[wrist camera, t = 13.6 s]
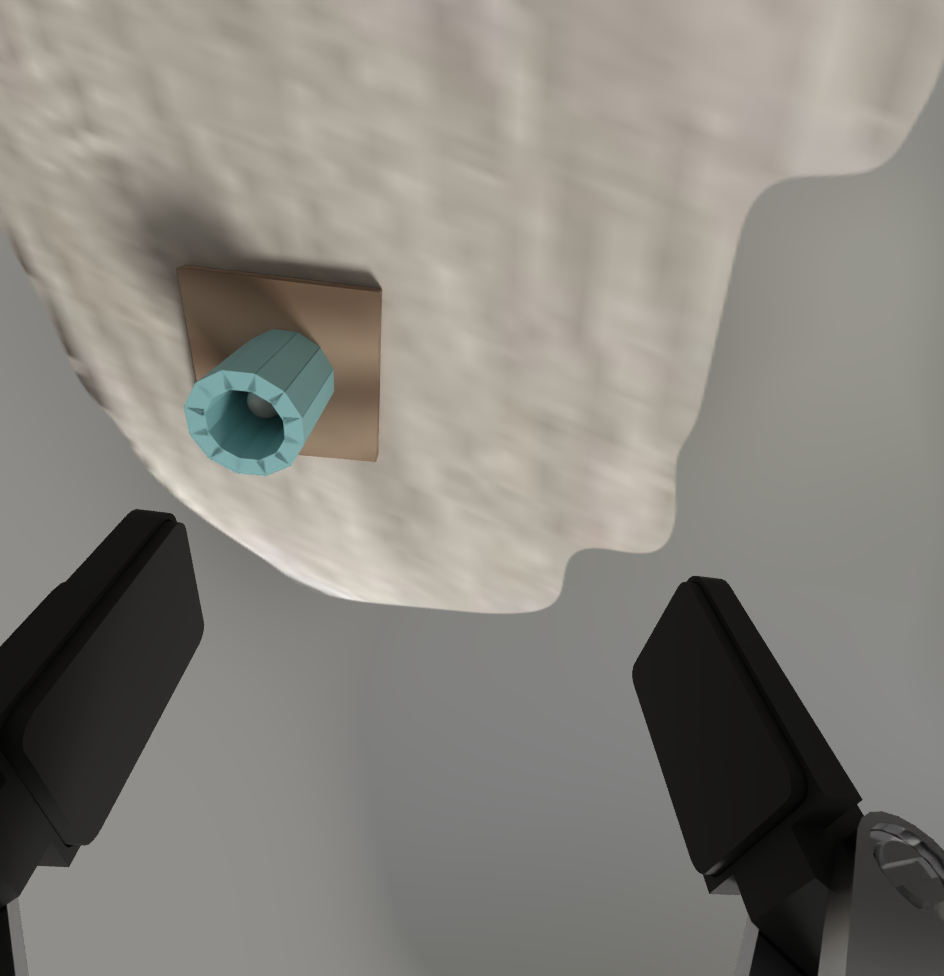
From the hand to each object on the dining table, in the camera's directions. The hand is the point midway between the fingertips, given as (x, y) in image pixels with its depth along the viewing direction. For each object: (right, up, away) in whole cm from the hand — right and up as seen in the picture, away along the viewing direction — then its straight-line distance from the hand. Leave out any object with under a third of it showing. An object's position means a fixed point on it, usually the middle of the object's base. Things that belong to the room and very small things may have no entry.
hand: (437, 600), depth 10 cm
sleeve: (-12, +10, +23) cm, 28 cm away
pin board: (-12, +10, +24) cm, 29 cm away
